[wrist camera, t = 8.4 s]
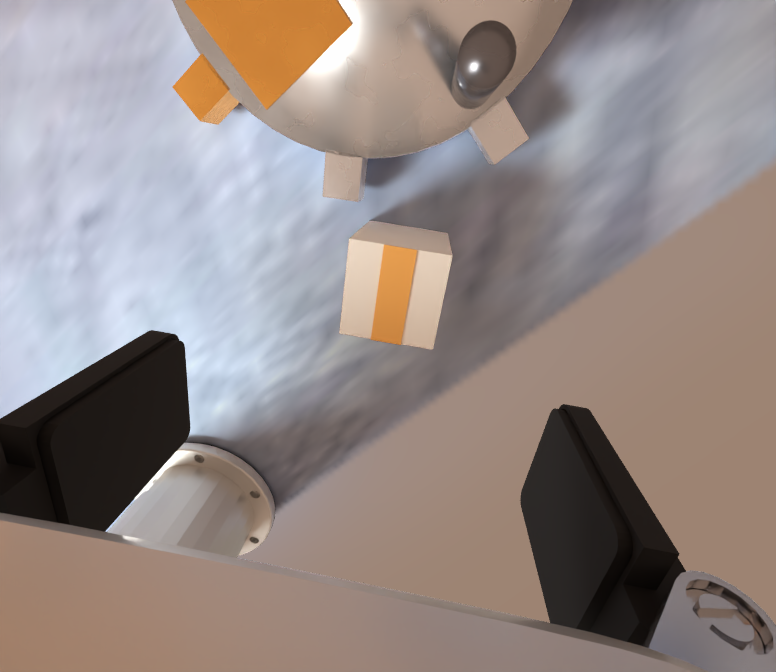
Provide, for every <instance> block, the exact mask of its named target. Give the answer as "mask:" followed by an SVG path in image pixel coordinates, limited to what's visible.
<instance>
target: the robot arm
mask: <svg viewBox="0 0 776 672" xmlns="http://www.w3.org/2000/svg"><path fill="white" fill-rule="evenodd" d="M189 432H190V416H189V402H188V388H187V373H186V359H185V347H184V344H183V342H182V341H179V339H178V337H177V336H176V335H175V334H170V333H165V332H159V331H153V330H151V331H148V332H147V333H145V334H143V335H141V336H140V337H138V338H136V339H135V340H133V341H131V342H130V343H128V344H126V345H124V346H123V347H121V348H119V349H118V350H116V351H114V352H113V353H111V354H109V355H108V356H106V357H104V358H102V359H101V360H99V361H97V362H96V363H94V364H92V365H91V366H89V367H87V368H86V369H84V370H82V371H80V372H79V373H77V374H75V375H74V376H72V377H70V378H69V379H67V380H65V381H63V382H62V383H60V384H58V385H57V386H55V387H53V388H52V389H50V390H48V391H47V392H45V393H43V394H41V395H40V396H38V397H36V398H35V399H33V400H31V401H30V402H28V403H26V404H25V405H23V406H21V407H19V408H18V409H16V410H14V411H13V412H11V413H9V414H8V415H6V416H4V417H2V418H1V419H0V672H776V625H775V624H774V622H773V621H772V620H771V619H770V617H769V616H768V615H767V614H766V612H765V611H764V610H763V609H762V608H760V607H759V606H758V605H757V604H756V603H755V602H754V601H753V600H752V599H751V598H750V597H748V596H747V595H746V594H744V593H743V592H741V591H740V590H738V589H737V588H736V587H734V586H733V585H731V584H729V583H727V582H725V581H724V580H722V579H720V578H718V577H715V576H713V575H710V574H707V573H704V572H698V571H687V572H686V570H685V569H684V567H683V565H682V564H681V562H680V561H679V559H678V556H679V553H678V551H677V549H676V548H675V546H674V545H673V543H672V542H671V540H670V538H669V537H668V535H667V534H666V532H665V530H664V529H663V527H662V525H661V524H660V522H659V521H658V519H657V518H656V516H655V514H654V513H653V511H652V509H651V508H650V506H649V504H648V503H647V501H646V500H645V498H644V496H643V495H642V493H641V492H640V490H639V489H638V487H637V486H636V484H635V482H634V481H633V479H632V477H631V476H630V474H629V472H628V471H627V469H626V468H625V466H624V464H623V463H622V461H621V460H620V458H619V457H618V455H617V453H616V452H615V450H614V448H613V447H612V445H611V444H610V442H609V440H608V439H607V437H606V435H605V434H604V432H603V431H602V429H601V427H600V426H599V424H598V423H597V421H596V420H595V418H594V416H593V415H592V413H591V412H590V410H589V409H587V408H581V407H576V406H570V405H565V404H563V405H561V407H560V408H559V409H553V410H552V411H551V413H550V416H549V419H548V421H547V424H546V426H545V429H544V432H543V434H542V437H541V440H540V443H539V445H538V448H537V451H536V453H535V456H534V459H533V461H532V464H531V467H530V470H529V472H528V475H527V478H526V480H525V483H524V486H523V489H522V492H521V508H522V512H523V516H524V520H525V524H526V527H527V532H528V535H529V539H530V543H531V548H532V552H533V556H534V560H535V564H536V568H537V572H538V575H539V580H540V584H541V588H542V592H543V596H544V599H545V603H546V608H547V612H548V616H549V620H550V623H547V622H543V621H539V620H534V619H530V618H525V617H521V616H517V615H512V614H508V613H503V612H499V611H494V610H489V609H484V608H479V607H475V606H470V605H465V604H460V603H455V602H451V601H445V600H441V599H436V598H431V597H427V596H422V595H417V594H412V593H407V592H403V591H398V590H393V589H388V588H383V587H378V586H374V585H369V584H364V583H359V582H354V581H349V580H344V579H339V578H334V577H330V576H324V575H320V574H315V573H310V572H305V571H300V570H295V569H290V568H285V567H280V566H275V565H270V564H265V563H260V562H255V561H250V560H245V559H240V558H237V557H238V556H240V555H244V554H246V553H248V552H251V551H253V550H254V549H256V548H257V547H259V546H260V545H261V544H262V543H263V542H264V540H265V539H266V538H267V536H268V534H269V532H270V529H271V528H272V525H273V521H274V519H275V505H274V500H273V497H272V494H271V492H270V490H269V487H268V486H267V484H266V483H265V482H264V480H263V479H262V477H261V476H260V475H259V474H258V473H257V472H256V471H255V470H254V469H253V468H252V467H251V466H250V465H248V464H247V463H246V462H244V461H243V460H242V459H240V458H238V457H237V456H235V455H233V454H231V453H229V452H227V451H225V450H222V449H219V448H217V447H214V446H209V445H205V444H199V443H185V441H186V440H187V438H188V436H189ZM134 498H135V501H134V502H133V503H132V505H131V506H130V507H129V508H128V509H127V510H126V511H125V512H124V514H123V515H122V516H121V517H120V518H119V519H118V520H117V521H116V523H115V524H114V525H113V526H112V527H111V528H110V529H109V530H108V532H105V531H106V530H107V529H108V528H109V526H110V525H111V524H112V523H113V522H114V521H115V520H116V519H117V517H118V516H119V515H120V514H121V513H122V512H123V511H124V510H125V508H126V507H127V506H128V505H129V504H130V503H131V502H132V501H133V500H134Z"/></svg>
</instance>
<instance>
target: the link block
mask: <svg viewBox="0 0 776 672" xmlns="http://www.w3.org/2000/svg"><path fill="white" fill-rule="evenodd" d="M452 256H453V255H452V250H451V246H450V241H449V237H448V233H445V232H439V231H433V230H426V229H420V228H414V227H408V226H402V225H396V224H390V223H384V222H378V221H372V220H370V221H369V222H367V223H366V224H365V225H364V226H363V227H362V228H361V229H359V230H358V231H357V232H356V233H355V234H354V235H353V236H352V237H350V238H349V245H348V255H347V264H346V274H345V283H344V293H343V303H342V312H341V322H340V331H339V333H340V334H346V335H351V336H357V337H363V338H368V339H371V340H375V341H381V342H387V343H392V344H398V345H401V344H403V345H408V346H414V347H420V348H426V349H431V350H433V347H434V342H435V337H436V333H437V328H438V323H439V318H440V314H441V309H442V304H443V299H444V295H445V290H446V285H447V280H448V276H449V271H450V266H451V261H452Z"/></svg>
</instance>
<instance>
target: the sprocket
mask: <svg viewBox="0 0 776 672" xmlns="http://www.w3.org/2000/svg"><path fill="white" fill-rule="evenodd" d="M172 1H173V3H174V5H175V8H176V10H177V12H178V15H179V17H180V19H181V22H182V23H183V25H184V27H185V29H186V31H187V32H188V34H189V36H190V38H191V40H192V42H193V43H194V45H195V47H196V49H197V50H198V52H199V53H200V56H199V57H198V58H197V60H196V61H195V62H194V63H193V64H192V65H191V66H190V68H189V69H188V70H187V71H186V72H185V73H184V74H183V76H182V77H181V78H180V79H179V80H178V81H177V82H176V84H175V85H174V86H173V88H174V89H175V91H176V92H177V93H178V94H179V96H180V97H181V98H182V99H183V101H184V102H185V103H186V104H187V106H188V107H189V108H190V109H191V111H192V112H193V113H194V114H195V116H196V117H197V118H198V119H199V120H200V121H202V122H207V123H213V124H219V123H220V122H221V121H222V120H223V119H224V118H225V117H226V116H227V115H228V114H229V113H230V112H231V111H232V110H233V109H234V108H235V107H236V106H237V105H238V103H239V102H240V103H241V104H242V105H243V106H244V107H245V108H246V109H247V110H248V111H250V112H251V113H252V114H253V115H254V116H256V117H257V118H258V119H260V120H261V121H262V122H264V123H265V124H267V125H268V126H269V127H271V128H272V129H274V130H275V131H277V132H279V133H281V134H283V135H284V136H286V137H288V138H290V139H292V140H294V141H296V142H298V143H300V144H303V145H306V146H308V147H311V148H314V149H316V150H319V151H323V152H326V156H325V171H324V185H323V197H330V198H336V199H343V200H349V201H356V202H359V201H361V200H363V199H364V191H365V182H366V173H367V163H368V158H371V159H376V158H390V157H399V156H403V155H408V154H413V153H417V152H421V151H423V150H426V149H429V148H432V147H434V146H437V145H440V144H442V143H444V142H446V141H448V140H450V139H451V138H453V137H455V136H457V135H459V134H461V133H463V132H464V131H466V130H467V129H468V131H469V132H470V134H471V136H472V137H473V139H474V140H475V142H476V144H477V145H478V147H479V148H480V150H481V152H482V153H483V155H484V156H485V158H486V160H487V161H488V163H489V164H490V165H495V164H496V163H497V162H499V161H500V160H501V159H503V158H504V157H505V156H507V155H508V154H509V153H511V152H512V151H513V150H515V149H516V148H517V147H519V146H520V145H521V144H523V143H524V142H525V141H527V140H528V139H529V137H528V136H527V134H526V132H525V130H524V129H523V127H522V125H521V124H520V122H519V120H518V118H517V117H516V115H515V113H514V112H513V110H512V108H511V106H510V105H509V103H508V101H507V99H506V97H507V96H508V95H509V94H510V93H511V92H512V91H513V90H514V89H515V88H516V87H517V86H518V84H519V83H520V82H521V81H522V80H523V79H524V78H525V76H526V75H527V74H528V73H529V72H530V71H531V70H532V68H533V67H534V65H535V64H536V63H537V61H538V60H539V58H540V57H541V55H542V54H543V53H544V51H545V50H546V48H547V47H548V45H549V44H550V42H551V41H552V39H553V37H554V36H555V34H556V32H557V30H558V28H559V27H560V25H561V23H562V21H563V19H564V17H565V16H566V14H567V12H568V10H569V8H570V6H571V3H572V1H573V0H172Z"/></svg>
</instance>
